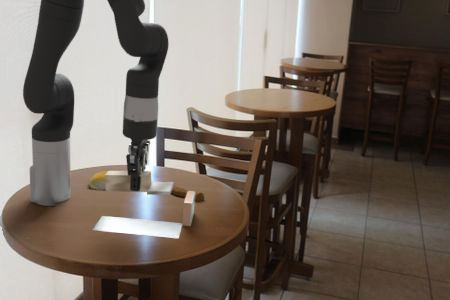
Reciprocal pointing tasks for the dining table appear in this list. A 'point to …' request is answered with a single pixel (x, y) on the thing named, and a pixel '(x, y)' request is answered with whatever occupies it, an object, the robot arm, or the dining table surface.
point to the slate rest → (138, 227)
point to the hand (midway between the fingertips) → (136, 187)
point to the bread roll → (98, 181)
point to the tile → (188, 208)
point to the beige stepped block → (121, 183)
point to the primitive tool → (183, 193)
